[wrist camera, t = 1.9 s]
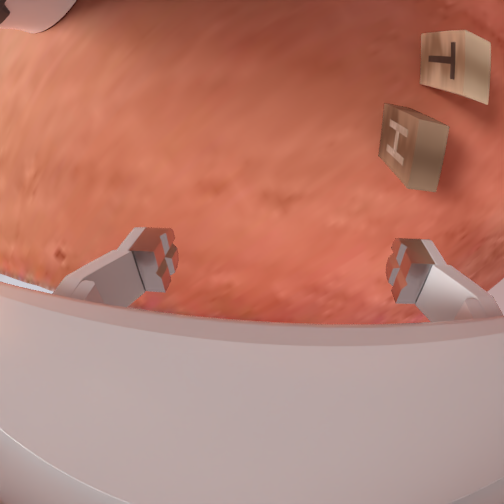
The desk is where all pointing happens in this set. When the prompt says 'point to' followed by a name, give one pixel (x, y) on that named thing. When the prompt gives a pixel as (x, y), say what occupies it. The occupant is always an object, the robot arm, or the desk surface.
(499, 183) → the desk surface
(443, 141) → the wooden letter h block
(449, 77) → the wooden letter t block
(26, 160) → the desk surface
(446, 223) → the desk surface
